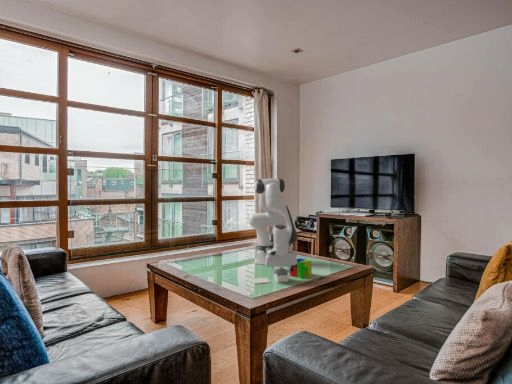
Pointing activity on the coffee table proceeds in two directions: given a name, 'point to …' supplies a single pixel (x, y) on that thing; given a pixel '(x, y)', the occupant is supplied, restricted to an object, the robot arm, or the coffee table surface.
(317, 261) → the coffee table surface
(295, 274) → the puzzle toy
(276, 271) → the ring
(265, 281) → the coaster
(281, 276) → the peg stand
